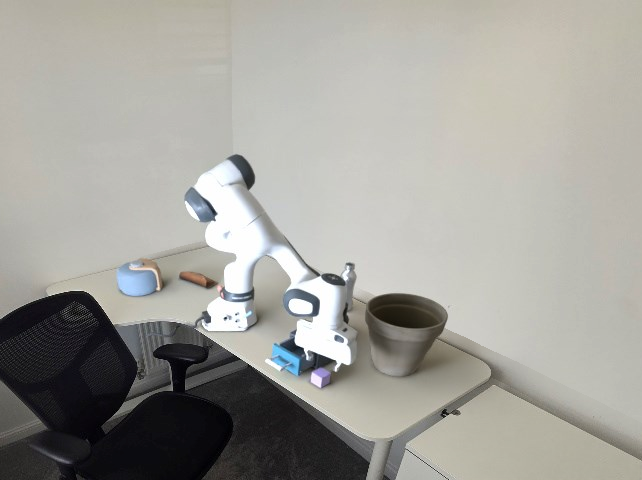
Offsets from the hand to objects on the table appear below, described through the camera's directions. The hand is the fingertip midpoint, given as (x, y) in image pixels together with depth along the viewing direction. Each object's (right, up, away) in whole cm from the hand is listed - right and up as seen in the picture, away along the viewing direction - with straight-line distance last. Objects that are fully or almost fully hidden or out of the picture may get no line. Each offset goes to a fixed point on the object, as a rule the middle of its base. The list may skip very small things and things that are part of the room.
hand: (322, 364), depth 140 cm
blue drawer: (-8, +1, +11) cm, 14 cm away
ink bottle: (+10, +13, +30) cm, 35 cm away
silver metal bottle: (+17, +25, +45) cm, 54 cm away
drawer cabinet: (+1, +5, +18) cm, 19 cm away
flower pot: (+27, 0, +12) cm, 30 cm away
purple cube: (0, -6, +4) cm, 7 cm away
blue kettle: (-73, +38, +64) cm, 104 cm away
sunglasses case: (-47, +41, +69) cm, 93 cm away
